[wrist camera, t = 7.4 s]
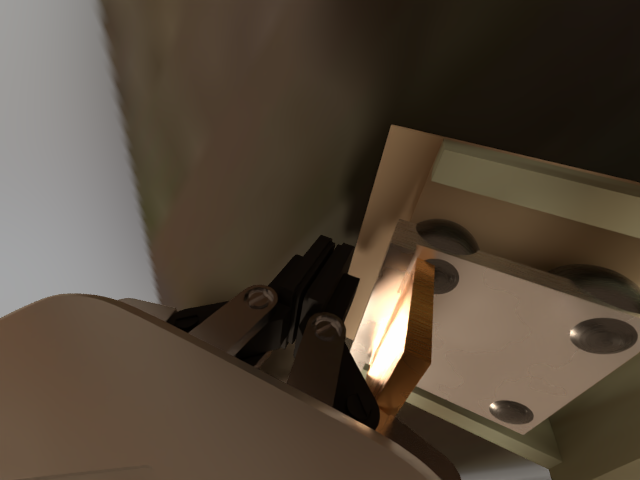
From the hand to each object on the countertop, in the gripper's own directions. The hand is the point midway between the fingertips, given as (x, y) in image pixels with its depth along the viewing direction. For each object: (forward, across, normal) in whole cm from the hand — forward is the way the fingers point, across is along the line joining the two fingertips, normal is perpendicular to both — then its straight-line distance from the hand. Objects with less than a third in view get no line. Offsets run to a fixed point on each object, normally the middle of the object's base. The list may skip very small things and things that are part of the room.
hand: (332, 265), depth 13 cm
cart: (+1, -6, 0) cm, 7 cm away
